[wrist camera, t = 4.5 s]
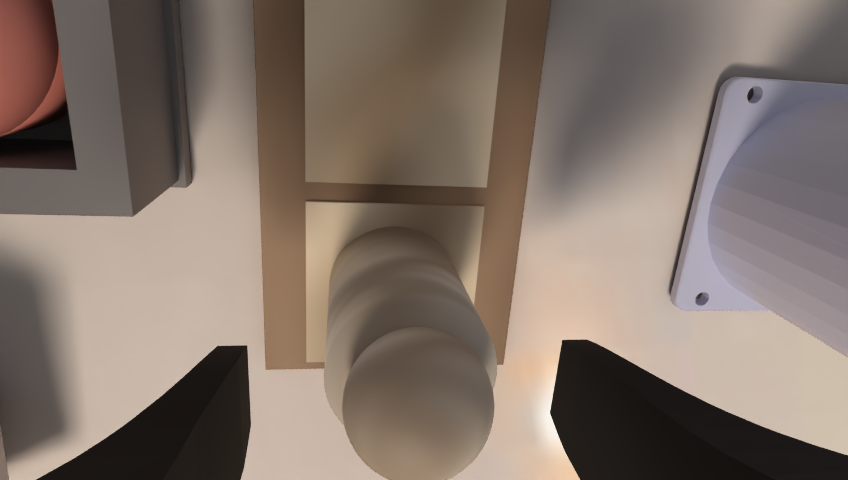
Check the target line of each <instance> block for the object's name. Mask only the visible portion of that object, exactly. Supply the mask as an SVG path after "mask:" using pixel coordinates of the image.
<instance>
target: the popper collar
mask: <svg viewBox="0 0 848 480" xmlns="http://www.w3.org/2000/svg"><path fill="white" fill-rule="evenodd" d="M52 2H53V9H54V15H55V22H56V29H57V36H58V43H59V50H60V57H61V64H62V70H63V77H64V84H65V91H66V98H67V105H68V113H66V114H65V115H63V116H62V117H60V118H59V119H57V120H55V121H53V122H51V123H48V124H46V125H44V126H40V127H37V128H33V129H29V130H26V131H22V132H18V133H14V134H10V135H6V136H2V137H0V214H34V215H82V216H130V217H133V216H134V215H136V214H137V213H138V212H139V211H141V210H142V209H143V208H144V207H146V206H147V205H148V204H149V203H151V202H152V201H153V200H154V199H156V198H157V197H158V196H159V195H161V194H162V193H163V192H164V191H166V190H167V189H168V188H170V187H183V188H187V187H188V186H189V185H190V184H191V183H192V176H191V163H190V150H189V137H188V124H187V110H186V97H185V84H184V71H183V58H182V44H181V31H180V18H179V5H178V0H52Z"/></svg>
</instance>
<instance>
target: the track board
mask: <svg viewBox="0 0 848 480" xmlns="http://www.w3.org/2000/svg"><path fill="white" fill-rule="evenodd" d="M550 5H551V0H253V8H254V37H255V67H256V96H257V126H258V155H259V184H260V214H261V243H262V273H263V302H264V331H265V361H266V370H270V369H317V368H325V351H326V333H327V315H328V296H329V281H330V275H331V271H332V268H333V266H334V263H335V261H336V260H337V258H338V256H339V255H340V253H341V252H342V251H343V250H344V249H345V248H346V247H347V245H348V244H350V243H351V242H352V241H353V240H355V239H356V238H358V237H359V236H361V235H363V234H365V233H367V232H369V231H372V230H375V229H379V228H384V227H406V228H411V229H415V230H417V231H420V232H422V233H424V234H426V235H428V236H430V237H431V238H433V239H434V240H435V241H436V242H437V243H439V244H440V245H441V247H442V248H443V249H444V250H445V251H446V253H447V255H448V256H449V258H450V260H451V262H452V264H453V266H454V268H455V270H456V272H457V274H458V275H459V277H460V279H461V281H462V283H463V285H464V287H465V289H466V291H467V293H468V295H469V297H470V299H471V301H472V303H473V304H474V306H475V308H476V310H477V312H478V314H479V316H480V318H481V320H482V322H483V324H484V326H485V328H486V330H487V332H488V333H489V335H490V338H491V340H492V342H493V345H494V348H495V352H496V357H497V365H503V362H504V355H505V347H506V340H507V332H508V324H509V317H510V309H511V302H512V294H513V286H514V279H515V271H516V264H517V256H518V249H519V241H520V233H521V226H522V218H523V211H524V203H525V195H526V188H527V180H528V173H529V165H530V157H531V150H532V142H533V135H534V127H535V119H536V112H537V104H538V97H539V89H540V81H541V74H542V66H543V59H544V51H545V43H546V36H547V28H548V21H549V13H550Z"/></svg>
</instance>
